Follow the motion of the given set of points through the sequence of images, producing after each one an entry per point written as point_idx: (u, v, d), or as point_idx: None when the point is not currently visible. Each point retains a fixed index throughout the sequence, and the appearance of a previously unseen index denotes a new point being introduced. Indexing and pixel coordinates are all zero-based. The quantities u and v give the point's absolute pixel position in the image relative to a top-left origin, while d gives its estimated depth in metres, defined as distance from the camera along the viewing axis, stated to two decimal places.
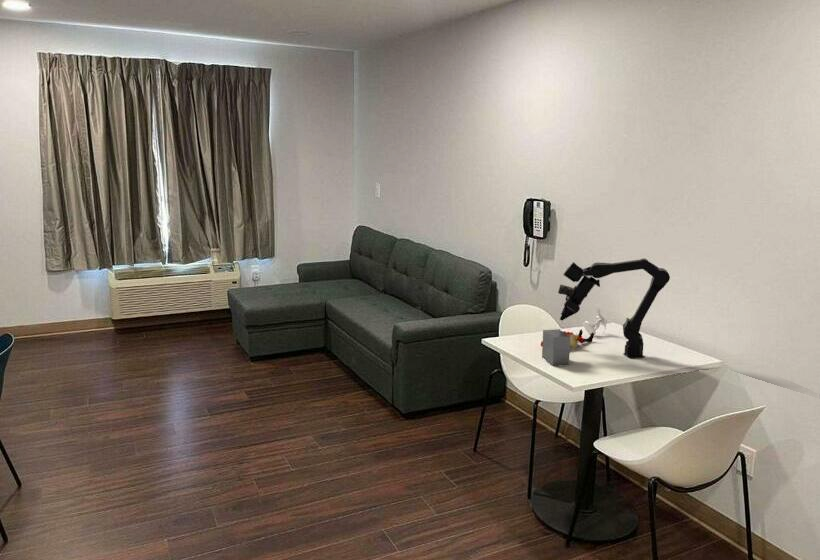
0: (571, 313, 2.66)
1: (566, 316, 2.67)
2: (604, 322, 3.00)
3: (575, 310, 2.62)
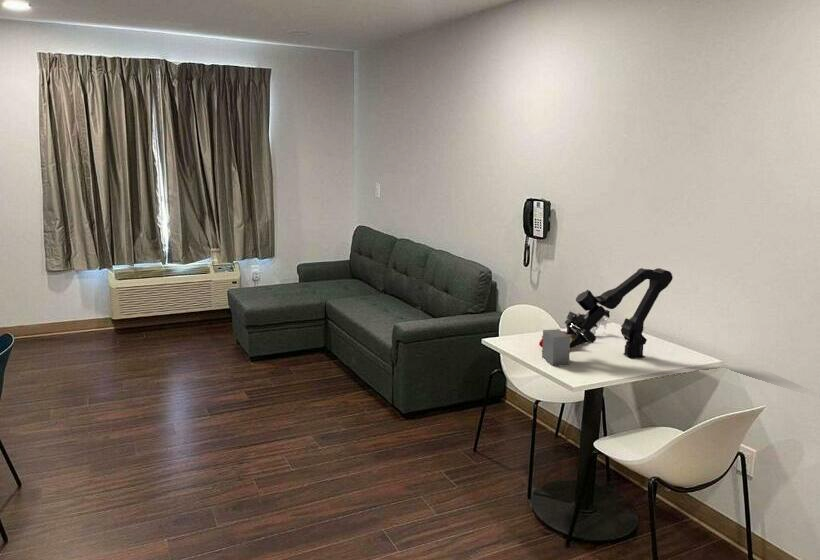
0: (582, 342, 2.57)
1: (576, 344, 2.57)
2: (604, 322, 3.00)
3: (592, 340, 2.53)
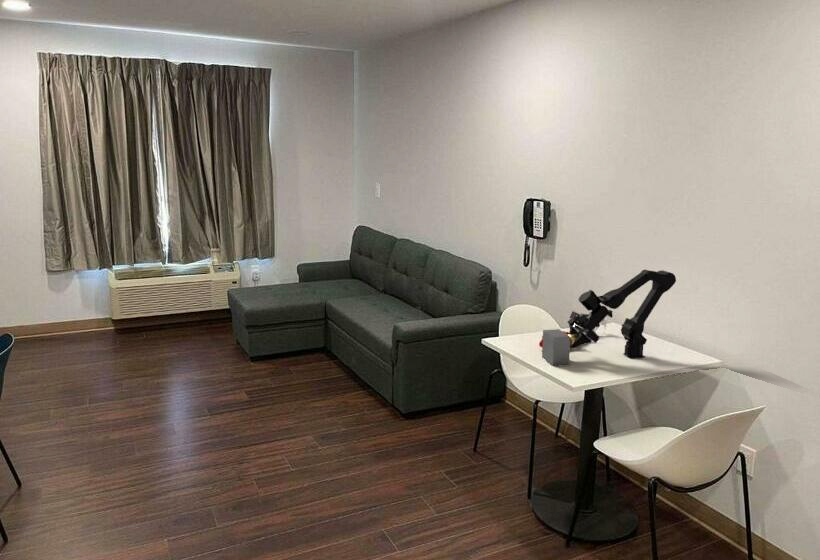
0: (585, 341, 2.57)
1: (579, 344, 2.58)
2: (604, 322, 3.00)
3: (595, 340, 2.53)
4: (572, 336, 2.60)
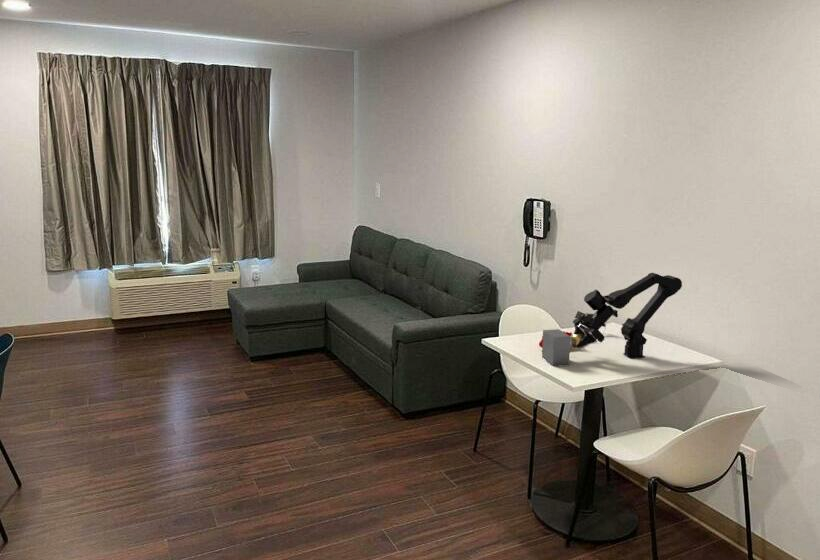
0: (591, 341, 2.58)
1: (584, 344, 2.58)
2: None
3: (601, 340, 2.53)
4: (577, 336, 2.60)
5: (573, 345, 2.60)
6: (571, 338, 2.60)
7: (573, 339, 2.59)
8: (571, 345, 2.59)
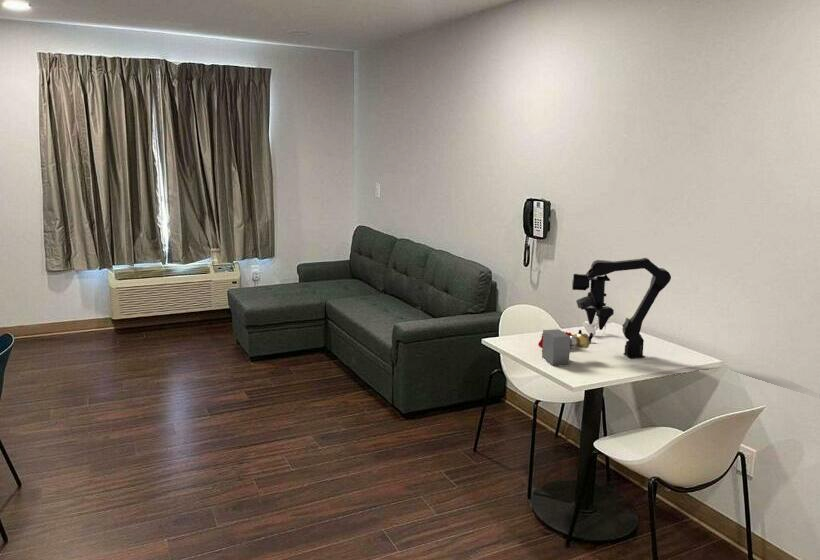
0: (607, 318, 2.62)
1: (604, 323, 2.63)
2: None
3: (611, 313, 2.59)
4: (582, 335, 2.60)
5: (577, 345, 2.60)
6: (575, 338, 2.60)
7: (577, 339, 2.60)
8: (575, 345, 2.60)
